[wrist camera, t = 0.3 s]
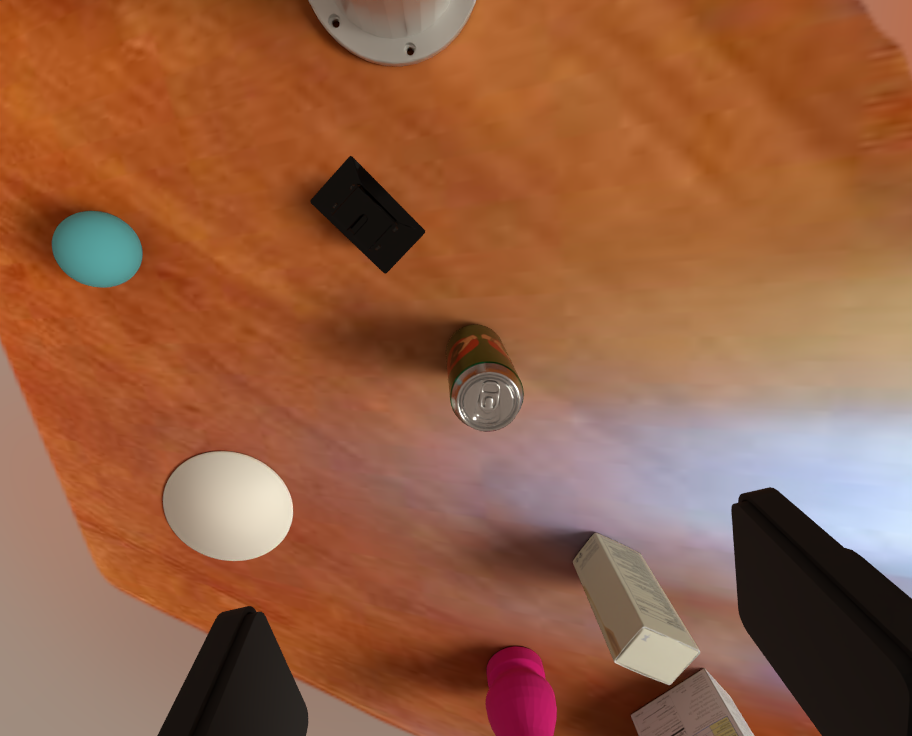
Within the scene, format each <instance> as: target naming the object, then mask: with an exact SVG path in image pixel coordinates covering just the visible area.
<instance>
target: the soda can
mask: <svg viewBox="0 0 912 736" xmlns="http://www.w3.org/2000/svg"><path fill="white" fill-rule="evenodd" d="M446 362H447V372H448V382H449V392H450V401H451V406H452V409H453V411H454V413H455V415H456V416H457V417H458V418H459V419H460V420H461V421H462V422H463V423H464V424H466V425H467V426H470V427H471V428H473V429H476V430H479V431H485V432H488V431H496V430H499V429H501V428H504V427H505V426H507V425H508V424H509V423H511V422H512V421H513V419H514V418H515V417H516V415H517V414H518V412H519V410H520V408H521V406H522V403H523V396H524V392H523V386H522V383H521V381H520V379H519V377H518V374H517V372H516V370H515V368H514V366H513V364H512V362H511V360H510V358H509V356H508V354H507V352H506V350H505V348H504V346H503V343H502V341H501V339H500V338H499V336H498V335H497V334H496V333H495V332H494V331H493V330H492V329H490V328H488V327H486V326H482V325H468V326H465V327H463V328H461V329H459V330H458V331H456V332H455V333H454V334H453V335H452V337H451V338H450V339H449V341H448V344H447V347H446Z"/></svg>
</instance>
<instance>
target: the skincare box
mask: <svg viewBox="0 0 912 736" xmlns="http://www.w3.org/2000/svg"><path fill="white" fill-rule="evenodd" d="M573 565H574V567H575V569H576V572H577V574H578V577H579V579H580V581H581V584H582V586H583V588H584V591H585V593H586V595H587V598H588V600H589V603H590V605H591V608H592V610H593V612H594V615H595V617H596V619H597V622H598V624H599V627H600V629H601V631H602V634H603V636H604V638H605V641H606V643H607V646H608V648H609V650H610V653H611V655H612V658H613V660H614V662H615V663H617V664H619V665H621V666H623V667H625V668H627V669H630V670H632V671H634V672H637V673H639V674H641V675H644V676H647V677H649V678H652V679H654V680H657V681H659V682H662V683H665V684H667V685H671V684H672V683H673V681H674V680H675V679H676V678H677V677H678V676H679V675H680V674H681V673H682V672H683V671H684V670H685V669H686V668H687V667H688V666H689V665H690V663H691V662H692V661H693V660H694V659H695V658H696V657H697V656H698V655H699V654H700V650H699V648H698V647H697V645H696V644H695V642H694V640H693V639H692V637H691V636H690V634H689V632H688V631H687V629H686V627H685V626H684V624H683V623H682V621H681V619H680V618H679V616H678V614H677V613H676V611H675V609H674V608H673V606H672V604H671V603H670V601H669V600H668V598H667V596H666V595H665V593H664V591H663V590H662V588H661V587H660V585H659V583H658V582H657V580H656V578H655V577H654V575H653V573H652V572H651V570H650V569H649V567H648V565H647V564H646V562H645V560H644V559H643V557H642V555H641V554H640V553H638V552H636V551H634V550H632V549H630V548H628V547H626V546H624V545H622V544H620V543H618V542H616V541H614V540H611V539H609V538H607V537H605V536H602V535H600V534H598V533H594V534H593V535H592V537H591V538H590V539H589V540H588V542H587V543H586V544H585V545H584V547H583V548H582V549H581V550H580V552H579V553H578V555H577V556H576V557H575V559H574V560H573Z"/></svg>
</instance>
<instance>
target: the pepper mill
mask: <svg viewBox="0 0 912 736" xmlns="http://www.w3.org/2000/svg"><path fill="white" fill-rule="evenodd" d="M487 680H488V686H489V691H488V693H487V696H486V710H487V715H488V720H489V722H490V725H491V727H492V730H493V732H494V733H495V735H496V736H553V735H554V729H555V724H556V714H557V707H556V701H555V695H554V691H553V689H552V687H551V685H550V684H549V683H548V682H547V681H546V680H545V673H544V669H543V665H542V661H541V659H540V657H539V656H538V655H537V654H536V653H535V652H534V651H532V650H531V649H528V648H525V647H517V646H513V647H508V648H505V649H502V650H500V651H499V652H497V653H496V654H494V655H493V656H492V658H491V659H490V660H489V662H488V665H487Z"/></svg>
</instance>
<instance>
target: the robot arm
mask: <svg viewBox="0 0 912 736" xmlns="http://www.w3.org/2000/svg"><path fill="white" fill-rule="evenodd" d="M308 1H309V3H310V5H311V6H312V8H313V10H314V12H315V14H316V16H317V17H318V19H319V20H320V22H321V23H322V25H323V26H324V28H325V29H326V30H327V31H328V32H329V34H330V35H331V36H332V37H333V38H334V39H335V40H336V41H337V42H338V43H339V44H340V45H341V46H343V47H344V48H345V49H347V50H348V51H349V52H351V53H352V54H354V55H356V56H358V57H360V58H362V59H364V60H366V61H368V62H372V63H376V64H380V65H384V66H406V65H412V64H417V63H420V62H422V61H424V60H427V59H429V58H432V57H433V56H435V55H436V54H438V53H439V52H441V51H442V50H444V49H445V48H446V47H447V46H448V45H449V44H450V43H451V42H452V41H453V40H454V39H455V38H456V37H457V36H458V35H459V33H460V32H461V30H462V29H463V27H464V26H465V24H466V23H467V21H468V19H469V17H470V15H471V12H472V10H473V8H474V5H475V3H476V0H308ZM335 21H338V22H340V25H339V27H337V28H335V27H333V23H334V22H335ZM408 49H413V51H414V53H413V55H408V54H407V50H408ZM732 525H733V540H734V554H735V568H736V582H737V597H738V610H739V615H740V618H741V621H742V623H743V625H744V627H745V629H746V631H747V632H748V634H749V635H750V636H751V638H752V639H753V641H754V642H755V643H756V645H757V646H758V648H759V649H760V650H761V652H762V653H763V654H764V656H765V657H766V659H767V660H768V661H769V663H770V664H771V666H772V667H773V668H774V670H775V671H776V673H777V674H778V675H779V677H780V678H781V679H782V681H783V682H784V684H785V685H786V686H787V688H788V689H789V691H790V692H791V693H792V695H793V696H794V697H795V699H796V700H797V702H798V703H799V704H800V706H801V707H802V709H803V710H804V711H805V713H806V714H807V716H808V717H809V718H810V720H811V721H812V722H813V724H814V725H815V727H816V728H817V729H818V731H819V732H820V734H821V735H822V736H912V599H911V598H910V597H909V596H908V595H907V594H905V593H904V592H903V591H902V590H901V589H899V588H898V587H897V586H896V585H895V584H894V583H892V582H891V581H890V580H889V579H888V578H886V577H885V576H884V575H883V574H882V573H881V572H879V571H878V570H877V569H876V568H875V567H873V566H872V565H871V564H870V563H869V562H867V561H866V560H865V559H864V558H863V557H862V556H860V555H859V554H857V553H856V552H854V551H853V550H850V549H847V548H844V547H843V546H842V545H840V544H839V543H838V542H837V541H836V540H835V539H833V538H832V537H831V536H830V535H829V534H828V533H826V532H825V531H824V530H823V529H822V528H821V527H819V526H818V525H817V524H816V523H815V522H814V521H812V520H811V519H810V518H809V517H808V516H807V515H806V514H804V513H803V512H802V511H801V510H800V509H799V508H797V507H796V506H795V505H794V504H793V503H792V502H790V501H789V500H788V499H787V498H786V497H785V496H783V495H782V494H781V493H780V492H779V491H777V490H776V489H774V488H771V487H769V488H765V489H761V490H756V491H752V492H747V493H743V494H741V495H740V496H739V500H738V503H735V504H733V505H732ZM307 728H308V712H307V707H306V705H305V702H304V700H303V698H302V696H301V693H300V691H299V689H298V687H297V685H296V682H295V680H294V678H293V676H292V674H291V671H290V669H289V667H288V665H287V663H286V660H285V658H284V656H283V654H282V652H281V649H280V647H279V645H278V643H277V641H276V638H275V636H274V634H273V632H272V630H271V627H270V625H269V623H268V621H267V619H266V616H265V615H264V613H262V612H256V610H255V609H254V608H253V607H251V606H247V607H243V608H238V609H234V610H230V611H225V612H222V613H220V614H219V615H218V616H217V618H216V619H215V621H214V623H213V625H212V627H211V629H210V631H209V633H208V635H207V637H206V640H205V642H204V644H203V646H202V648H201V650H200V652H199V654H198V656H197V658H196V660H195V662H194V664H193V666H192V668H191V670H190V672H189V674H188V676H187V678H186V680H185V682H184V684H183V686H182V688H181V690H180V692H179V694H178V696H177V698H176V700H175V702H174V704H173V706H172V708H171V710H170V712H169V714H168V716H167V718H166V720H165V722H164V724H163V726H162V728H161V730H160V732H159V734H158V736H306V733H307Z"/></svg>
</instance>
